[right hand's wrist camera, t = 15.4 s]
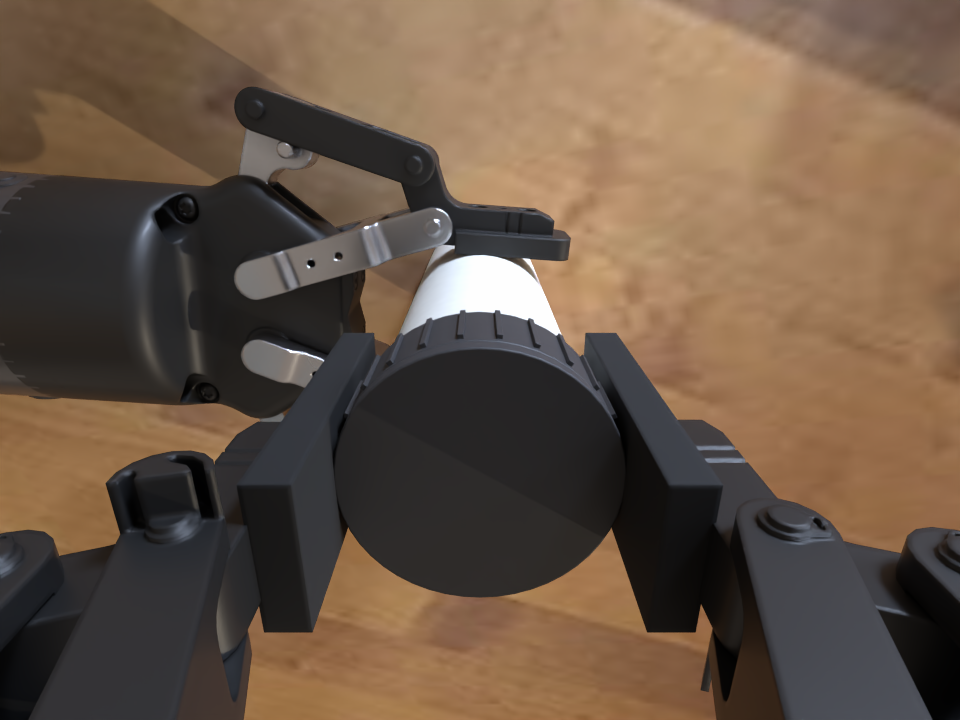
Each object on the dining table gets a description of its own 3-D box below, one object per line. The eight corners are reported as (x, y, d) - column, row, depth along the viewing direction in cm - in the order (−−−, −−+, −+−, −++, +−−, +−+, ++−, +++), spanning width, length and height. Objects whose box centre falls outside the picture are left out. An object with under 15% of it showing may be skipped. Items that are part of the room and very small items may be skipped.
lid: (359, 290, 11) (333, 323, 9) (632, 325, 11) (665, 364, 9) (347, 519, 13) (324, 586, 11) (580, 543, 13) (597, 613, 11)
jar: (542, 234, 25) (634, 372, 10) (520, 334, 26) (571, 578, 12) (436, 214, 24) (370, 327, 10) (420, 316, 26) (344, 545, 11)
